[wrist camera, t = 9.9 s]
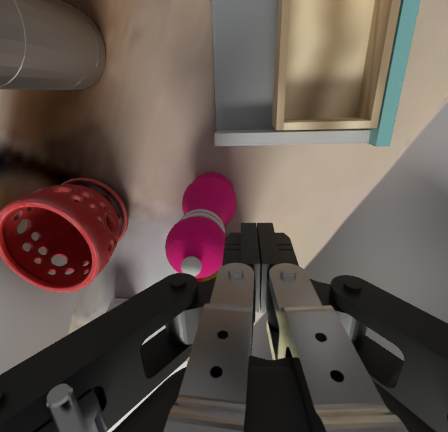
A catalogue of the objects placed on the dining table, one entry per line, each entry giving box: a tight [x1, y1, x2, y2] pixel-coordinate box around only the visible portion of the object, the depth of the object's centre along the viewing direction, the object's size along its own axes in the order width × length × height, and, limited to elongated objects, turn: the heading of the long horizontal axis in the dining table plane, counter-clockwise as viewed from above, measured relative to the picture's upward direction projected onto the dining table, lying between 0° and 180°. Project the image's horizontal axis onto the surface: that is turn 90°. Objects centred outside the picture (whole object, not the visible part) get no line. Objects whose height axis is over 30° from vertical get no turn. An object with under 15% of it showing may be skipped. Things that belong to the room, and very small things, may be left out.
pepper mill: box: [165, 173, 236, 278], centre depth 32 cm, size 7×7×20 cm
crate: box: [272, 0, 401, 130], centre depth 30 cm, size 11×14×5 cm
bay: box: [211, 0, 420, 146], centre depth 31 cm, size 20×18×6 cm
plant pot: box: [0, 178, 128, 292], centre depth 38 cm, size 13×13×12 cm
